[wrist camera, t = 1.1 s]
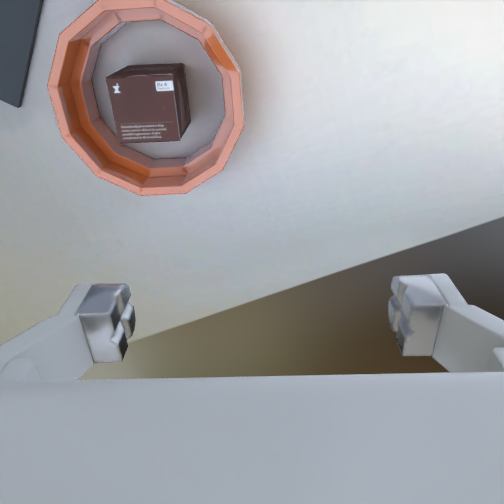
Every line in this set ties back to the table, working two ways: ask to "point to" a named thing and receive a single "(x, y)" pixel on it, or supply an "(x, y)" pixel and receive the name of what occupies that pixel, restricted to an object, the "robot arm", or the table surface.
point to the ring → (94, 128)
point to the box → (149, 103)
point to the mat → (16, 46)
